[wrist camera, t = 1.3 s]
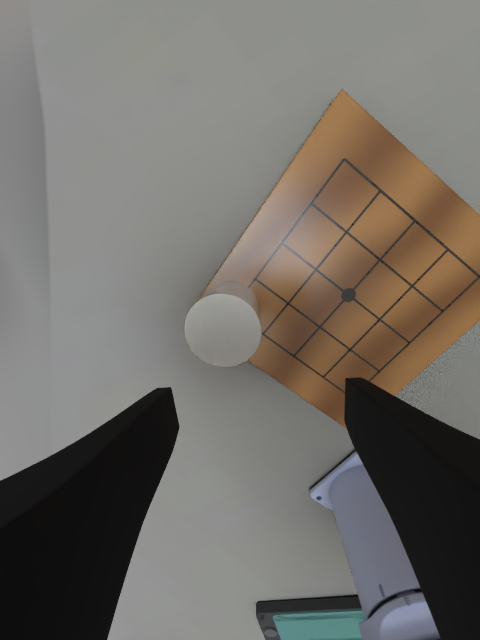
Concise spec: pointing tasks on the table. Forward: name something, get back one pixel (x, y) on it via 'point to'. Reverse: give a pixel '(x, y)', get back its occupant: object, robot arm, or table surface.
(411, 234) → the go board
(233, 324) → the white stone
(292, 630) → the smartphone
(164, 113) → the table surface
